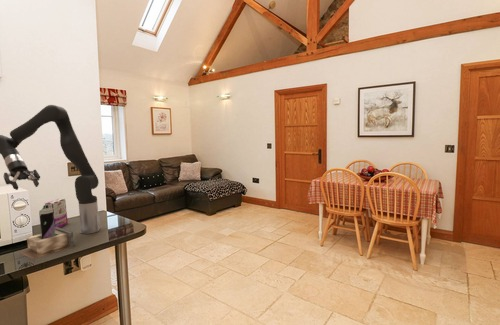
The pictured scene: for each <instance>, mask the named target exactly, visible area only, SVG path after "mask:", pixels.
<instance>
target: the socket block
mask: <svg viewBox="0 0 500 325" xmlns="http://www.w3.org/2000/svg"><path fill="white" fill-rule="evenodd" d="M55 234H56V236H53V237H49V238H46V239H42V235H41V233H39V234H35V235H32V236H28V237H26V241H27V248H28V250H30V251H32V252H34V253H37V254H39V255H41V254H44V253H47V252H50V251H53V250H56V249H59V248H62V247H65V246H68V239H67V234H66V233H63V232H60V231H57V230H55Z"/></svg>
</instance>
